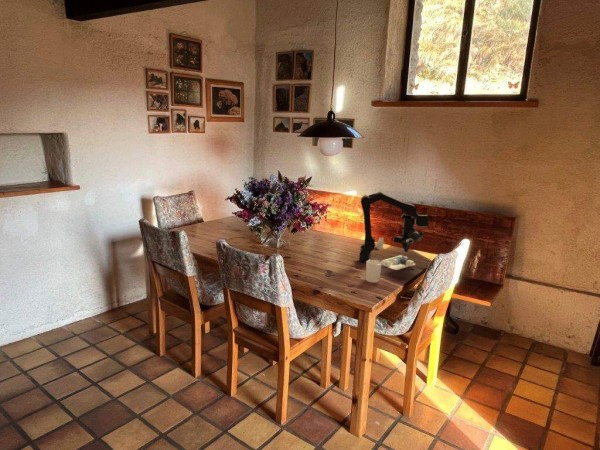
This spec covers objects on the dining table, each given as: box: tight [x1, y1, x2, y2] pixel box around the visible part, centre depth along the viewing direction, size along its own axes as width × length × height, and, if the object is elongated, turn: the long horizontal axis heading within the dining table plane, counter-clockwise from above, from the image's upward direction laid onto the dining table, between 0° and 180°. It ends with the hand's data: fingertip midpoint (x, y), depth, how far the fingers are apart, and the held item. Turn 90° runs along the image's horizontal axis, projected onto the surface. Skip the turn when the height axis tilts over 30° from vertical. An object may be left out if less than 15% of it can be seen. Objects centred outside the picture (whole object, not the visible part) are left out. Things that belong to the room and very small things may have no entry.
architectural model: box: [375, 237, 384, 251], centre depth 280 cm, size 3×7×7 cm, turn 147°
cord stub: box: [398, 257, 415, 267], centre depth 247 cm, size 3×10×3 cm, turn 39°
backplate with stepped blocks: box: [380, 254, 416, 271], centre depth 246 cm, size 18×11×4 cm, turn 129°
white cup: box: [365, 259, 383, 284], centre depth 221 cm, size 8×8×10 cm
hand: (406, 252), depth 246 cm, fingers closed
